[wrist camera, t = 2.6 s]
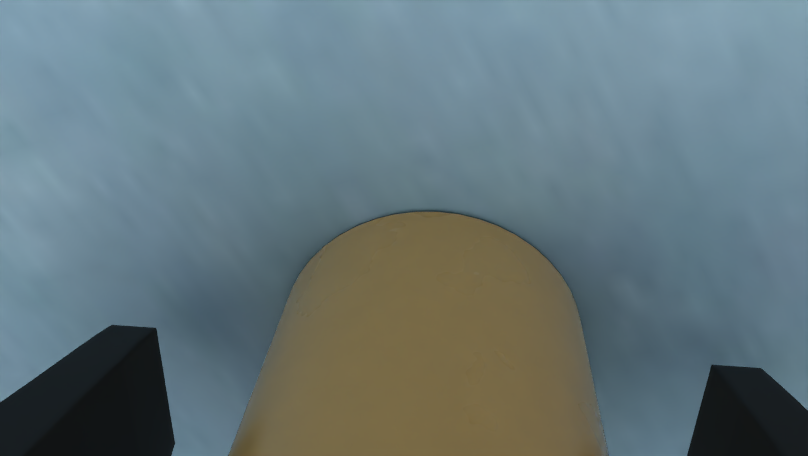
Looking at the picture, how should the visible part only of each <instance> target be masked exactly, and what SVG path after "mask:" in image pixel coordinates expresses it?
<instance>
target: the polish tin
mask: <svg viewBox="0 0 808 456" xmlns="http://www.w3.org/2000/svg"><path fill="white" fill-rule="evenodd" d="M228 456H609V454H608V449H607V445H606V440H605V435H604V430H603V425H602V421H601V416H600V411H599V406H598V401H597V397H596V392H595V387H594V382H593V377H592V373H591V368H590V363H589V358H588V354H587V349H586V344H585V339H584V334H583V330H582V325H581V320H580V316H579V312H578V308H577V305H576V303H575V300H574V298H573V295H572V293H571V291H570V289H569V287H568V286H567V284H566V282H565V281H564V279H563V278H562V276H561V274H560V273H559V272H558V271H557V270H556V269H555V267H554V266H553V265H552V264H551V263H550V261H549V260H548V259H547V258H545V257H544V256H543V255H542V254H541V253H540V252H539V251H538V250H536V249H535V248H534V247H533V246H531V245H530V244H528V243H527V242H526V241H524V240H523V239H521V238H520V237H518V236H517V235H515V234H513V233H511V232H509V231H507V230H505V229H503V228H501V227H499V226H497V225H494V224H491V223H488V222H486V221H483V220H480V219H477V218H473V217H468V216H464V215H460V214H453V213H444V212H409V213H401V214H394V215H390V216H386V217H382V218H378V219H374V220H372V221H369V222H366V223H364V224H361V225H359V226H356V227H354V228H352V229H350V230H349V231H347V232H345V233H343V234H341V235H339V236H338V237H336V238H335V239H334V240H332V241H331V242H329V243H328V244H327V245H325V246H324V247H323V248H322V249H321V250H320V251H319V252H318V253H317V254H316V255H315V256H313V257H312V258H311V259H310V261H309V262H308V263H307V265H306V266H305V267H304V269H303V270H302V271H301V273H300V274H299V276H298V278H297V280H296V282H295V283H294V285H293V287H292V289H291V292H290V295H289V297H288V300H287V303H286V305H285V308H284V310H283V313H282V316H281V318H280V321H279V324H278V326H277V329H276V331H275V334H274V337H273V339H272V342H271V345H270V347H269V350H268V352H267V355H266V358H265V360H264V363H263V366H262V368H261V371H260V373H259V376H258V379H257V381H256V384H255V387H254V389H253V392H252V394H251V397H250V400H249V402H248V405H247V408H246V410H245V413H244V415H243V418H242V421H241V423H240V426H239V429H238V431H237V434H236V436H235V439H234V442H233V444H232V447H231V450H230V452H229V455H228Z"/></svg>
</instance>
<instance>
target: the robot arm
mask: <svg viewBox="0 0 808 456" xmlns="http://www.w3.org/2000/svg"><path fill="white" fill-rule="evenodd" d="M174 445H175V441H174V435H173V429H172V422H171V416H170V410H169V404H168V398H167V392H166V386H165V379H164V373H163V367H162V361H161V355H160V349H159V342H158V336H157V330H156V328H150V327H135V326H120V325H111V326H109V327H108V328H106V329H105V330H103V331H101V332H100V333H98V334H97V335H95V336H94V337H92V338H91V339H89V340H88V341H87V342H85V343H84V344H82V345H81V346H79V347H78V348H77V349H75V350H74V351H72V352H71V353H70V354H68V355H67V356H65V357H64V358H63V359H61V360H60V361H58V362H57V363H56V364H54V365H53V366H51V367H50V368H49V369H47V370H46V371H44V372H43V373H42V374H40V375H39V376H37V377H36V378H35V379H33V380H32V381H30V382H29V383H28V384H26V385H25V386H23V387H22V388H20V389H19V390H18V391H16V392H15V393H13V394H12V395H10V396H9V397H8V398H6V399H5V400H3V401H2V402H0V456H171V454H172V451H173V448H174ZM687 456H808V410H806V409H805V408H804V407H803V406H802V405H801V404H800V403H799V402H798V401H797V400H796V399H795V398H794V397H793V396H792V395H790V394H789V393H788V392H787V391H786V390H785V389H784V388H783V387H782V386H781V385H780V384H779V383H777V382H776V381H775V380H774V379H773V378H772V377H771V376H770V375H768V374H767V373H766V372H765V371H764V370H763V369H761V368H751V367H736V366H721V365H711V369H710V373H709V377H708V380H707V384H706V388H705V391H704V395H703V399H702V403H701V406H700V410H699V414H698V417H697V421H696V425H695V428H694V432H693V436H692V440H691V443H690V447H689V451H688V454H687Z"/></svg>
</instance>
